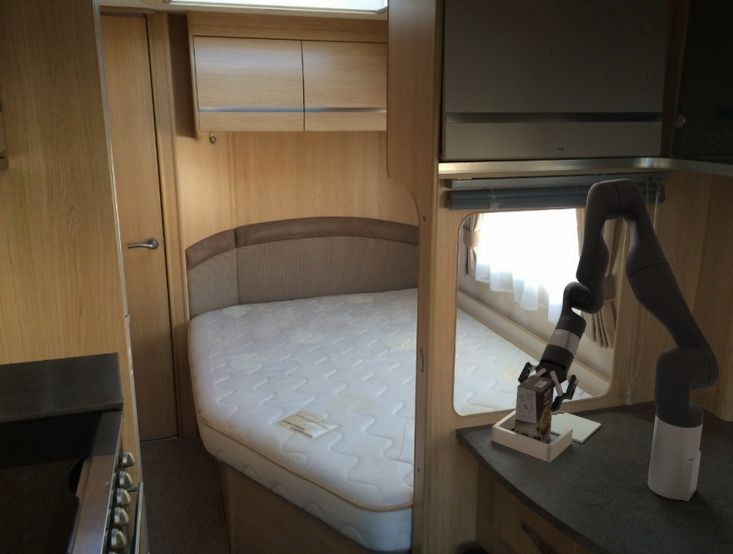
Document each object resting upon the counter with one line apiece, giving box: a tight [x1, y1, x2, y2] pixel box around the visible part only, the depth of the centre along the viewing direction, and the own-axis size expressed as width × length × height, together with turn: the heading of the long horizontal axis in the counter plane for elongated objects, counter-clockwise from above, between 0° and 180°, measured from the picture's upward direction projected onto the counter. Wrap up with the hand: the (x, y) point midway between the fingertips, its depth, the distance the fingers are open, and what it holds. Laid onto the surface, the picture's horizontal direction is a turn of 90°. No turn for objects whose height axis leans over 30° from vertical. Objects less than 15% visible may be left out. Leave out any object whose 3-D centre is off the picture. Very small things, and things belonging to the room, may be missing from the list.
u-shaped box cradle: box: [490, 409, 573, 463], centre depth 164 cm, size 16×12×4 cm
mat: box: [551, 412, 602, 444], centre depth 173 cm, size 14×12×1 cm
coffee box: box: [513, 374, 555, 443], centre depth 163 cm, size 9×6×16 cm
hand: (537, 406), depth 164 cm, fingers open, 8 cm apart
